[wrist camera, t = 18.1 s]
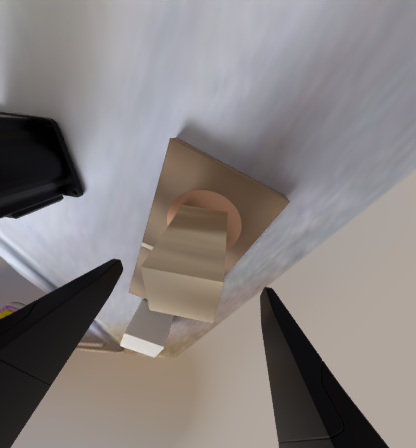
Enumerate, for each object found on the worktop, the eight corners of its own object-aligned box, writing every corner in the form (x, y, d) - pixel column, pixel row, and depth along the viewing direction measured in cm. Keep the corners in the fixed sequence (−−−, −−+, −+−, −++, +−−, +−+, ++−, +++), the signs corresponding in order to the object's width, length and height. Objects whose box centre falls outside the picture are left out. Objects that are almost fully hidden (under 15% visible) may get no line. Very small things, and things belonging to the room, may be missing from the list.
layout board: (175, 137, 11) (170, 138, 10) (285, 196, 13) (289, 202, 11) (133, 285, 23) (128, 292, 22) (191, 308, 24) (189, 316, 23)
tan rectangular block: (182, 204, 13) (140, 266, 7) (227, 212, 13) (223, 282, 7) (181, 240, 15) (149, 310, 9) (220, 247, 15) (213, 323, 9)
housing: (142, 299, 25) (124, 333, 21) (175, 311, 26) (164, 347, 21) (136, 313, 28) (119, 345, 24) (165, 324, 29) (154, 357, 25)
